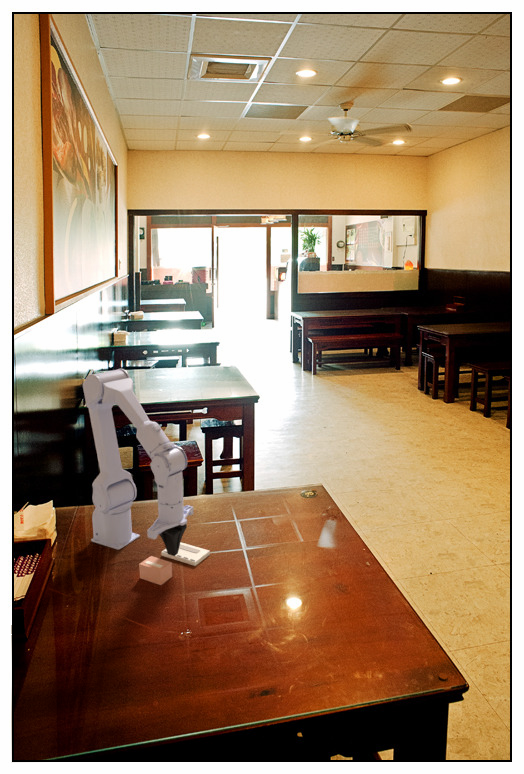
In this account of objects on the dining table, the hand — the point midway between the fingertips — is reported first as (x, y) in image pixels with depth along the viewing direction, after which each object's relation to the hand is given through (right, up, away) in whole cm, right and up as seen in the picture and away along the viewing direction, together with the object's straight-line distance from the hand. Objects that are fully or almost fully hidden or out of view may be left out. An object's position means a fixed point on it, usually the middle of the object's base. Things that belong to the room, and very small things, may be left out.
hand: (172, 553), depth 131 cm
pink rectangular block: (-3, -4, -5) cm, 7 cm away
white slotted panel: (+2, -2, +5) cm, 6 cm away
